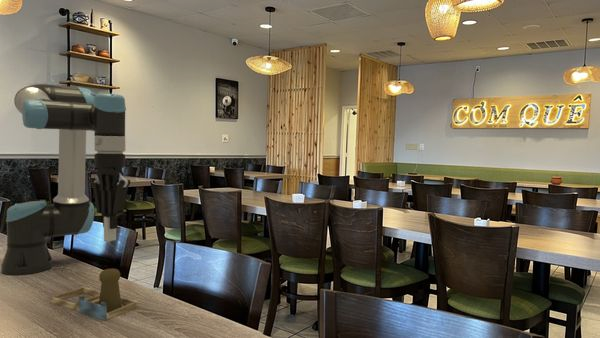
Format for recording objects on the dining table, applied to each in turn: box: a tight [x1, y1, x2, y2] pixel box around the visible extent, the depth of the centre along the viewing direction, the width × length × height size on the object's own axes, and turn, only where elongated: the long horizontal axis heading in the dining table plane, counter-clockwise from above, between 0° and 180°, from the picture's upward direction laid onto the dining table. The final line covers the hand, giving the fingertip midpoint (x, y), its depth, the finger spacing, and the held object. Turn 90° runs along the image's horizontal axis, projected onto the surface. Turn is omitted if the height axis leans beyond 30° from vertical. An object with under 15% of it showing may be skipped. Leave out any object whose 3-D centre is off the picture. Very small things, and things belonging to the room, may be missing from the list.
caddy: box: [49, 286, 139, 321], centre depth 118 cm, size 23×11×4 cm, turn 63°
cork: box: [98, 268, 123, 313], centre depth 115 cm, size 6×6×11 cm
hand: (110, 240), depth 114 cm, fingers closed
